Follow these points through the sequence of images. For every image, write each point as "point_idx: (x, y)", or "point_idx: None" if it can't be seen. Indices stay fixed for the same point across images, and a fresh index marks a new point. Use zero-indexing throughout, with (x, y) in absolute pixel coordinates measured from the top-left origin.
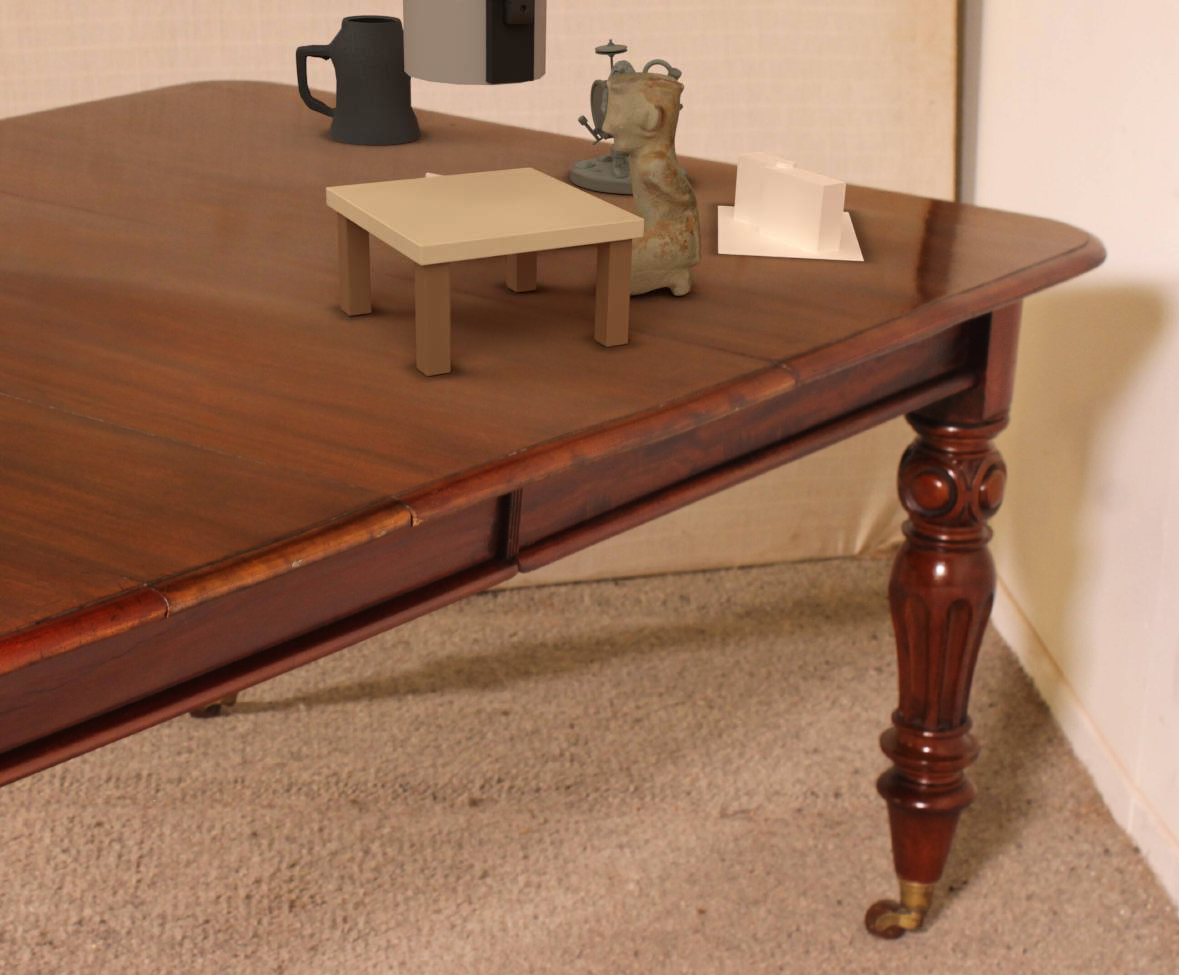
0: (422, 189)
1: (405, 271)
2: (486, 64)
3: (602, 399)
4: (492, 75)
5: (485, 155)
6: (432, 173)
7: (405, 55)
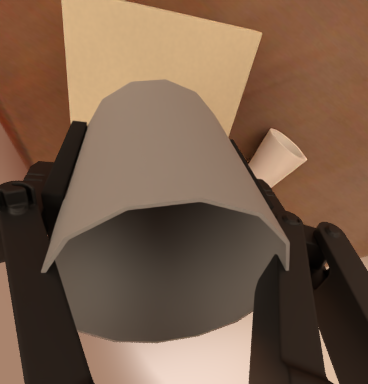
0: (210, 96)
1: (256, 103)
2: (83, 129)
3: (11, 67)
4: (72, 124)
5: (356, 229)
6: (295, 160)
7: (192, 95)
